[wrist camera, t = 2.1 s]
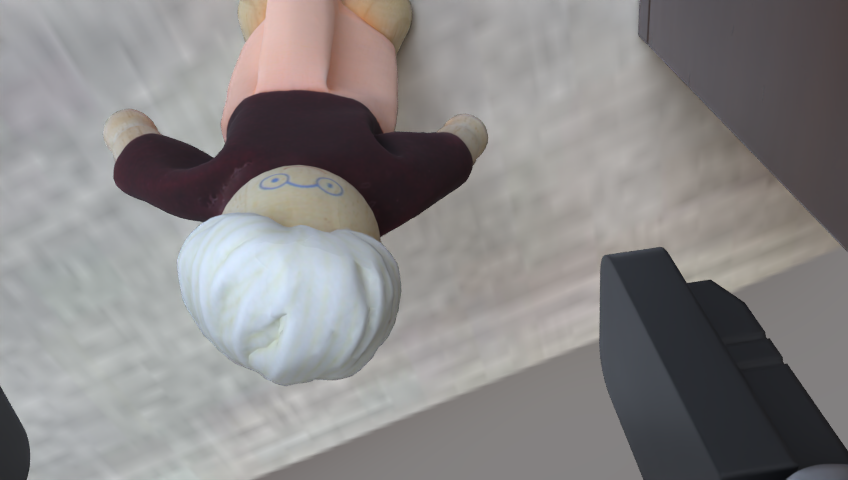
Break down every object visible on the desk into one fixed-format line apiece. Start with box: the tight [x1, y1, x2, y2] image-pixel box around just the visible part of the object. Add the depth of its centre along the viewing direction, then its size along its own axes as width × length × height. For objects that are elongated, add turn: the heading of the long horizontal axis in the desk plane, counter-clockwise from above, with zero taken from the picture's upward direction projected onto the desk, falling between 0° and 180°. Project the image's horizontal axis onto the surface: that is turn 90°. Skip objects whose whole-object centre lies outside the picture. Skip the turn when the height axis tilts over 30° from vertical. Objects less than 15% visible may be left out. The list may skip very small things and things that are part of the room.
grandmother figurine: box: [103, 0, 488, 386], centre depth 16 cm, size 8×4×13 cm, turn 97°
